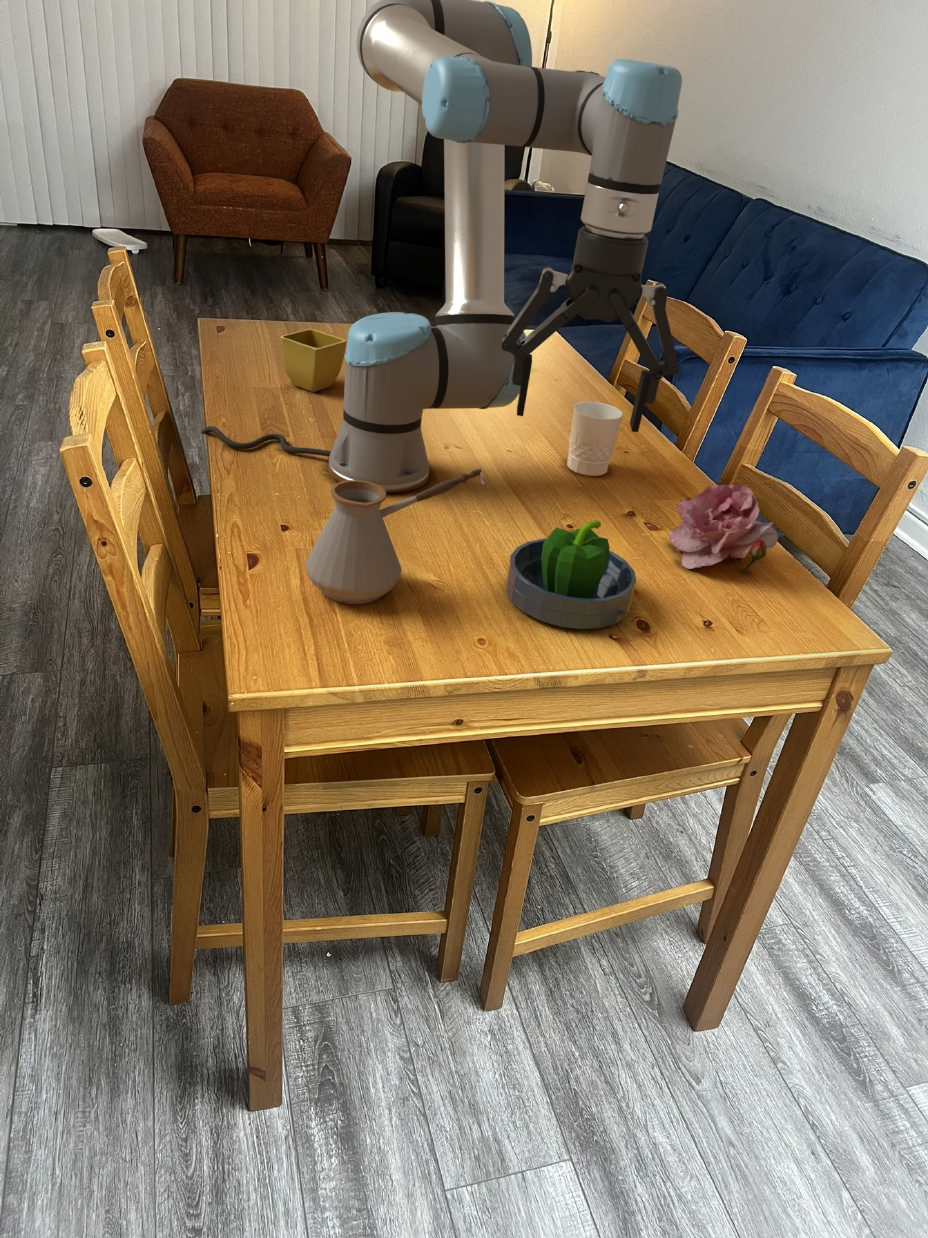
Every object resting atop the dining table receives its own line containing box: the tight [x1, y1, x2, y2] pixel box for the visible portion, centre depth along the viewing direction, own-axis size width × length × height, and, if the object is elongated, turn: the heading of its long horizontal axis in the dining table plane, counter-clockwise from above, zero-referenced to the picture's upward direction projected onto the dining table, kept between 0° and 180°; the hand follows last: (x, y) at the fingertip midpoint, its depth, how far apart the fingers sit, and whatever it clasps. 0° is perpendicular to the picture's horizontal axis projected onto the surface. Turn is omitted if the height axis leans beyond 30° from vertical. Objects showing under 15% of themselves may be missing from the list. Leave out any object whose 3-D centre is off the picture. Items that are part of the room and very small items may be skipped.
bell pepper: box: [541, 519, 610, 599], centre depth 115 cm, size 8×8×10 cm
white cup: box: [566, 401, 624, 477], centre depth 153 cm, size 8×8×10 cm
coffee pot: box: [305, 468, 487, 605], centre depth 112 cm, size 21×12×15 cm, turn 110°
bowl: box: [505, 537, 637, 630], centre depth 117 cm, size 16×16×4 cm
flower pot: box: [279, 328, 348, 393], centre depth 171 cm, size 9×9×9 cm
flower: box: [668, 483, 779, 573], centre depth 130 cm, size 15×15×10 cm
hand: (576, 420), depth 111 cm, fingers open, 13 cm apart
